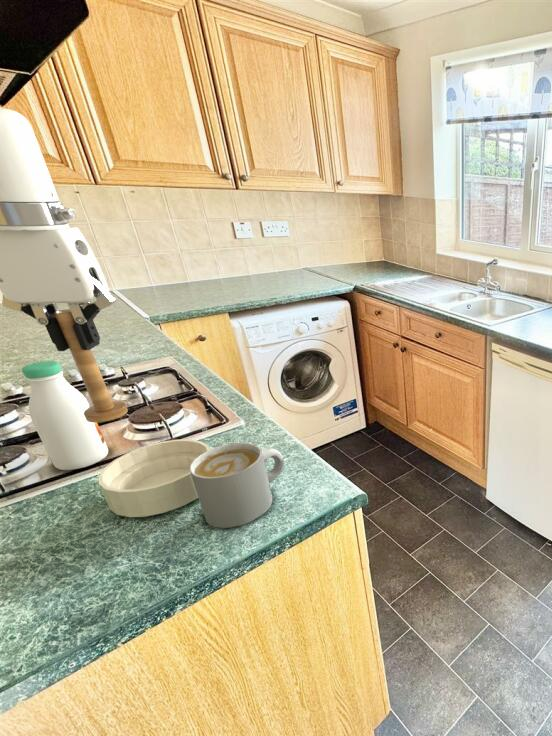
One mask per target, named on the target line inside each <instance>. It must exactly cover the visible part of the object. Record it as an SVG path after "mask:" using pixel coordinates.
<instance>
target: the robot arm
mask: <svg viewBox="0 0 552 736" xmlns="http://www.w3.org/2000/svg"><path fill="white" fill-rule="evenodd" d="M76 218H77V213H76V211H75V210H74V209H73V208H72V207H71V208H70V207H69V208H68V207H67V208H66V207H65V206H64V205H63V203H62V202H61V201H60V199H59V195H58V193H57V191H56V187H55V184H54V182H53V180H52V177H51V174H50V171H49V168H48V167H47V163H46V160H45V158H44V155H43V154H42V149H41V147H40V145H39V143H38V139H37V137H36V134H35V132H34V130H33V127H32V125H31V123H30V121H29V119H27V117H26V116H24V114H21V113H20V112H18V111H16V110H13V109H10V108H5V107H1V106H0V292H1V294H2V300H1V301H2V302H1V304H2V306H3V307H4V308H6V309H10V310H13V311H18V312H23V313H24V314H25V315H27V316H29V317H31V318H33V319H35V320H36V322H37V323H38V325H41V326H45V329H46V331H47V333H48V335H49V338H50V341H51V343H52V344H54V346H55V348H56V351H58V352H65V351H68V350H70V349H69V347H68V344H67V342H66V340H65V337H64V335H63V332H62V330H61V328H60V325H59V323H58V321H57V318H56V316H55V314H54V312H56V311H60V310H59V308H58V306H57V304H67V307H68V309H70V311H71V313H72V315H73V317H74V320H75V321H76V324H74V325H73V329H74V332H75V334H76V336H77V339H78V341H79V344H80V346H81V348H82V349H83V350H90V349H91V350H93V348H95V347H97V346H100V340H101V337H100V334H99V332H98V329H97V326H96V323H95V321H94V319H96V318H97V315H98V314H99V313H100V312H101V311H102V310H104V309H106V308H108V307H111V306H113V305H114V304H116V303H117V300H116V298H115V297H114V296H113V295H112V294H111V293H110V292H109V291H110V290H109V285H108V282H107V280H106V277H105V274H104V273H103V270H102V268H101V266H100V263H99V262H98V259H97V258H96V256H95V254H94V251H93V250H92V247H91V246H90V244H89V243H88V241H87V240H86V238H85V236H84V235H83V233H82V232H81V230H80V229H79V227H78V226H70V224H69V223H70V220H75V219H76ZM94 298H95V299H96V301H93V299H94ZM91 301H93V302H91Z"/></svg>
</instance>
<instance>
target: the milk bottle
mask: <svg viewBox="0 0 552 736" xmlns="http://www.w3.org/2000/svg"><path fill="white" fill-rule="evenodd" d="M21 371H22V374H23V376H24V377H25V380H26V381H28V382H29V384H30V395H29V401H28V405H27V406H28V413H29V417H30V419H31V421H32V424H33V426H34V428H35V430H36V432H37V434H38V436H39V439H40V441H41V442H42V445H43V447H44V448H45V451H46V453H47V455H48V456H49V458H50V461H51V463H52V464H53V466H54V467H55V468H56V469H58V470H61V471H72V470H73V471H74V470H79V469H82V468H87V467H89V466H92V465H94V464H96V463H99V462H100V461H102V460H103V459H105V458H106V457H107V456H108V454H109V448H108V445H107V443H106V441H105V438H104V435H103V433H102V431H101V428H100V427H99V424H98V423H99V422H96V423H94V422H89V421H87V420H86V418H85V415H84V412H85V410H87V409H88V408H90V407H91V406H90V403H89V401H88V400H87V398H86V397H85V396H84V394H83V393H81V391H79V390H78V389H77V388H75V387H74V386H73V385H71V384H70V383H69V381H67V380H66V379H65V377H64V375H63V374H64V371H63V368H62V366H61V364H60V363H59V362H58V361H55V360H46V361H45V360H44V361H38V362H34V363H30V364H27V365H25V366H23V367H22V368H21Z"/></svg>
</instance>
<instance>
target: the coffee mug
mask: <svg viewBox="0 0 552 736" xmlns="http://www.w3.org/2000/svg"><path fill="white" fill-rule="evenodd" d="M269 458H272V459H273V461H274V462H273V463H274V465H273V468H272V469H271V470H269V471H267V469H266V462H267V460H269ZM284 467H285V460H284V456H283V453H281V452H280V451H279V450H278V449H275V448H268V449H265V450H262V449H261V448H260V447H259V446H258V445H256V444H253V443H251V442H233V443H227V444H223V445H218V446H216V447H212V448H210V450H208V451H206V452H204V453H203V454H201V455H199V456H198V457H197V458H196V459H195V460H194V461H193V462H192V463H191V465H190V473H191V476H192V479H193V482H194V485H195V489H196V492H197V495H198V498H197V499H198V501H199V504H200V507H201V509H202V514H203V516H204V519H205V522H206V523H207V524H208V525H210V527H211V526H212V527H214V528H218V529H219V528H220V529H229V528H235V527H239V526H243V525H246V524H249V523H251V522H253V521H255V520H257V519H258V518H260V517H261V516H263V515H264V514H265V513H266V512H267V511H268V510H269V509H270V508H271V506H272V504H273V499H274V498H273V494H272V490H271V486H270V484H271V483H272V482H273V481H275V480H276V479H277V478H278V477H279V476H280V475H281V474H282V472H283V471H284Z"/></svg>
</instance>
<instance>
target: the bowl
mask: <svg viewBox="0 0 552 736" xmlns="http://www.w3.org/2000/svg"><path fill="white" fill-rule="evenodd" d="M210 449H211V448H210V446H209V445H208V444H207V443H205V442H203V441H201V440H197V439H189V438H188V439H183V438H182V439H171V440H164V441H159V442H155V443H151V444H147V445H144V446H141V447H139V448H136V449H134V450H130V451H128V452H126V453H124V454H122V455H121V456H119V457H117V458H116V459H113V460H112V461H111V462H110V463H109V464H107V465H106V466H105V467H103V469H102V470H101V471H100V473H99V474H98V476H97V480H98V486H99V488H100V491H101V493H102V495H103V497H104V500H105V501H106V504H107V507H108V508H109V510H110V511H112V512H113V513H114V514H115V515H116V516H121V517H127V518H145V517H150V516H155V515H160V514H164V513H168V512H170V511H174V510H176V509H179V508H181V507H184V506H186V505H187V504H189V503H192V502H193V501H196V500H197V499H199V498H198V495H197V492H196V489H195V485H194V482H193V479H192V476H191V473H190V465H191V463H192V462H193V461H194V460H195V459H196V458H197V457H198V456H199V455H201V454H203V453H204V452H206V451H208V450H210Z"/></svg>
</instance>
